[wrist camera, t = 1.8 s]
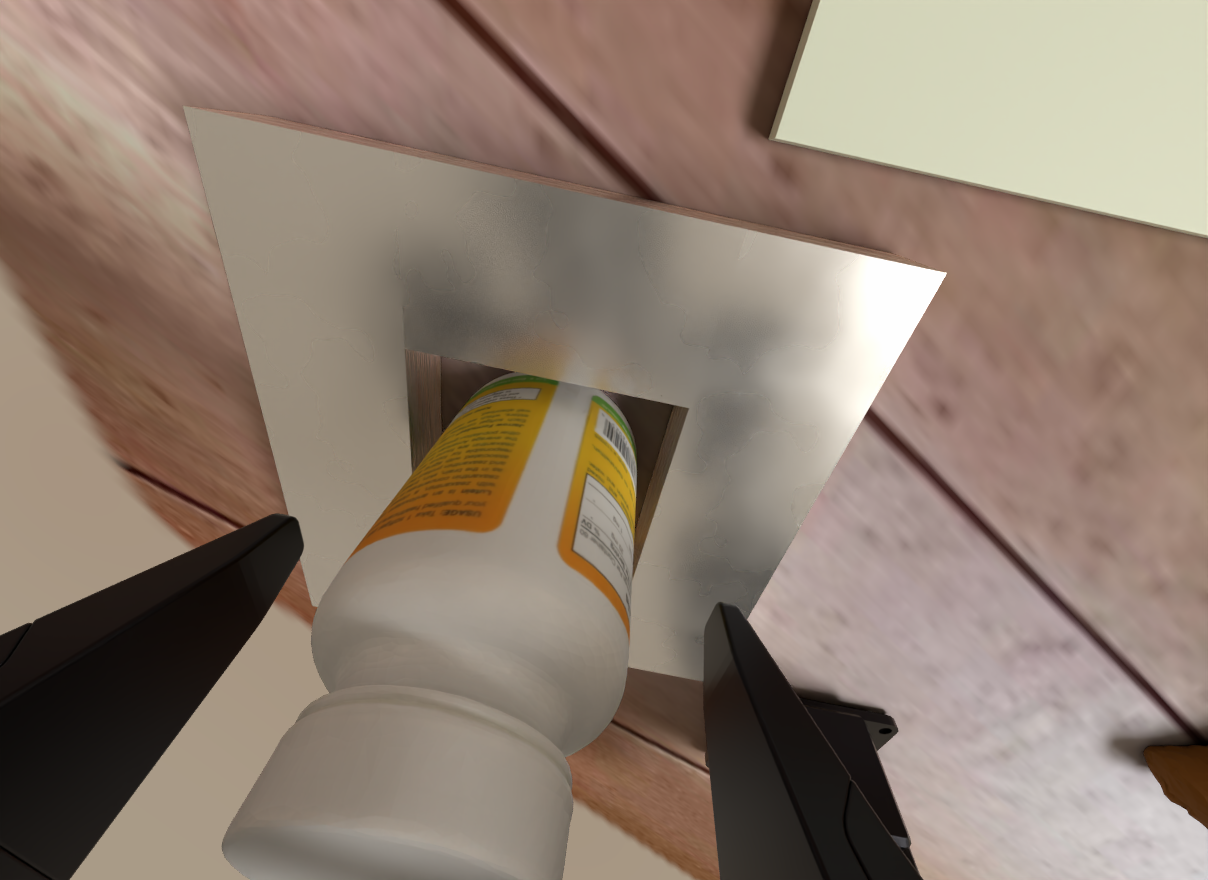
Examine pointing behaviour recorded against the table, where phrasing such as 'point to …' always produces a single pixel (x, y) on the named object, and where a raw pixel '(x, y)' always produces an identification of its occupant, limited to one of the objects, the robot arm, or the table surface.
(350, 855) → the supplement bottle
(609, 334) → the post foot
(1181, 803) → the primitive tool
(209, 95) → the table surface
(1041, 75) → the sage pad
